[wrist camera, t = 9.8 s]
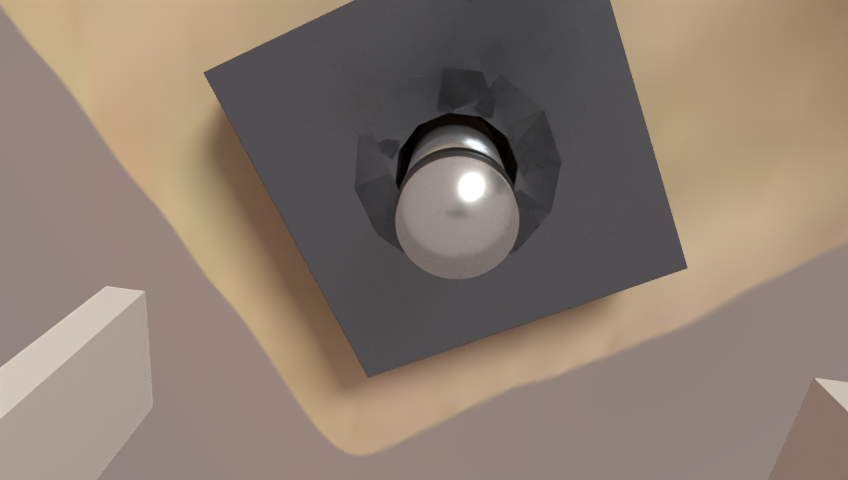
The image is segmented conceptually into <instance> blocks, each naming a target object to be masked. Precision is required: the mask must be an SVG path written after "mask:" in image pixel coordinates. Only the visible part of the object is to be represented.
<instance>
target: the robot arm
mask: <svg viewBox="0 0 848 480" xmlns="http://www.w3.org/2000/svg"><path fill="white" fill-rule="evenodd" d="M152 407H153V396H152V381H151V367H150V352H149V338H148V325H147V311H146V296H145V291H140V290H131V289H124V288H116V287H108V286H106V287H105V288H103V289H102V290H101V291H99V292H98V293H97V294H96V295H94V296H93V297H92V298H90V299H89V300H88V301H86V302H85V303H84V304H82V305H81V306H80V307H79V308H77V309H76V310H75V311H73V312H72V313H71V314H69V315H68V316H67V317H66V318H64V319H63V320H62V321H60V322H59V323H58V324H56V325H55V326H54V327H53V328H51V329H50V330H49V331H47V332H46V333H45V334H43V335H42V336H41V337H40V338H38V339H37V340H36V341H34V342H33V343H32V344H30V345H29V346H28V347H26V348H25V349H24V350H23V351H21V352H20V353H19V354H18V355H16V356H15V357H14V358H12V359H11V360H10V361H8V362H7V363H6V364H4V365H3V366H2V367H1V368H0V480H97V478H98V477H99V476H100V475H101V473H102V472H103V471H104V469H105V468H106V467H107V465H108V464H109V463H110V462H111V460H112V459H113V458H114V456H115V455H116V454H117V453H118V451H119V450H120V449H121V447H122V446H123V445H124V443H125V442H126V441H127V440H128V438H129V437H130V436H131V435H132V433H133V432H134V431H135V429H136V428H137V427H138V425H139V424H140V423H141V422H142V420H143V419H144V418H145V416H146V415H147V414H148V413H149V411H150V410H151V409H152ZM769 480H848V382H842V381H834V380H826V379H819V378H814V379H813V381H812V383H811V386H810V388H809V390H808V392H807V395H806V397H805V399H804V401H803V404H802V406H801V408H800V410H799V412H798V415H797V417H796V419H795V421H794V424H793V426H792V428H791V430H790V433H789V435H788V437H787V440H786V442H785V444H784V446H783V448H782V451H781V453H780V455H779V458H778V459H777V462H776V464H775V466H774V469H773V471H772V473H771V475H770V477H769Z"/></svg>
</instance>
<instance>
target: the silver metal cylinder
mask: <svg viewBox="0 0 848 480" xmlns="http://www.w3.org/2000/svg"><path fill="white" fill-rule="evenodd" d="M395 226H396V233H397V237H398V240H399V242H400V245H401V247H402V248H403V250H404V252H405V253H406V255H407V256H408V257H409V258H410V259H411V260H412V261H413V262H414V263H415V264H416V265H417V266H418V267H420V268H421V269H423V270H425V271H426V272H428V273H430V274H433V275H435V276H438V277H442V278H447V279H466V278H472V277H475V276H479V275H481V274H484V273H486V272H488V271H489V270H491V269H493V268H494V267H496V266H497V265H498V264H499V263H500V262H501V261H502V260H504V259H505V257H506V256H507V255H508V253H509V252H510V251H511V249H512V247H513V245H514V243H515V241H516V238H517V235H518V231H519V203H518V198H517V195H516V192H515V189H514V187H513V184H512V182H511V180H510V177H509V176H508V174H507V173H506V171H505V169H504V167H503V164H502V161H501V158H500V156H499V153H498V150H497V147H496V145H495V142H494V139H493V136H492V134H491V132H490V131H489V129H488V128H487V126H486V125H485V124H484V123H483V122H482V121H481V120H479V119H478V118H476V117H474V116H471V115H463V114H455V113H446V114H444V115H442V116H439V117H437V118H434V119H432V120H430V121H429V122H428V123H426V124H425V126H424V127H423V128H422V129H421V131H420V133H419V135H418V137H417V140H416V143H415V146H414V150H413V153H412V157H411V160H410V163H409V167H408V170H407V174H406V176H405V177H404V179H403V181H402V183H401V186H400V189H399V193H398V196H397V199H396V204H395Z"/></svg>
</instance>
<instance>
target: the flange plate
mask: <svg viewBox="0 0 848 480" xmlns="http://www.w3.org/2000/svg"><path fill="white" fill-rule="evenodd" d="M203 73H204V75H205V76H206V78H207V80H208V82H209V84H210V86H211V88H212V89H213V91H214V93H215V95H216V97H217V99H218V100H219V102H220V104H221V106H222V108H223V110H224V112H225V113H226V115H227V117H228V119H229V121H230V123H231V125H232V126H233V128H234V130H235V132H236V134H237V136H238V138H239V139H240V141H241V143H242V145H243V147H244V149H245V150H246V152H247V154H248V156H249V158H250V160H251V162H252V163H253V165H254V167H255V169H256V171H257V173H258V175H259V176H260V178H261V180H262V182H263V184H264V186H265V188H266V189H267V191H268V193H269V195H270V197H271V199H272V200H273V202H274V204H275V206H276V208H277V210H278V212H279V213H280V215H281V217H282V219H283V221H284V223H285V225H286V226H287V228H288V230H289V232H290V234H291V236H292V238H293V239H294V241H295V243H296V245H297V247H298V249H299V250H300V252H301V254H302V256H303V258H304V260H305V262H306V263H307V265H308V267H309V269H310V271H311V273H312V275H313V276H314V278H315V280H316V282H317V284H318V286H319V288H320V289H321V291H322V293H323V295H324V297H325V299H326V300H327V302H328V304H329V306H330V308H331V310H332V312H333V313H334V315H335V317H336V319H337V321H338V323H339V325H340V326H341V328H342V330H343V332H344V334H345V336H346V338H347V339H348V341H349V343H350V345H351V347H352V349H353V350H354V352H355V354H356V356H357V358H358V360H359V362H360V363H361V365H362V367H363V369H364V371H365V373H366V375H367V376H368V377H371V376H374V375H377V374H380V373H383V372H386V371H389V370H391V369H394V368H397V367H400V366H403V365H406V364H409V363H412V362H415V361H418V360H421V359H424V358H427V357H429V356H432V355H435V354H438V353H441V352H444V351H447V350H450V349H453V348H456V347H459V346H462V345H464V344H467V343H470V342H473V341H476V340H479V339H482V338H485V337H488V336H491V335H494V334H497V333H500V332H502V331H505V330H508V329H511V328H514V327H517V326H520V325H523V324H526V323H529V322H532V321H535V320H537V319H540V318H543V317H546V316H549V315H552V314H555V313H558V312H561V311H564V310H567V309H570V308H572V307H575V306H578V305H581V304H584V303H587V302H590V301H593V300H596V299H599V298H602V297H605V296H608V295H610V294H613V293H616V292H619V291H622V290H625V289H628V288H631V287H634V286H637V285H640V284H643V283H645V282H648V281H651V280H654V279H657V278H660V277H663V276H666V275H669V274H672V273H675V272H678V271H681V270H683V269H686V268H687V265H686V261H685V258H684V254H683V251H682V247H681V244H680V240H679V237H678V233H677V230H676V227H675V223H674V220H673V216H672V213H671V209H670V206H669V202H668V199H667V196H666V192H665V189H664V185H663V182H662V178H661V175H660V171H659V168H658V165H657V161H656V158H655V154H654V151H653V147H652V144H651V140H650V137H649V134H648V130H647V127H646V123H645V120H644V116H643V113H642V109H641V106H640V102H639V99H638V96H637V92H636V89H635V85H634V82H633V78H632V75H631V71H630V68H629V65H628V61H627V58H626V54H625V51H624V47H623V44H622V40H621V37H620V34H619V30H618V27H617V23H616V20H615V16H614V13H613V9H612V6H611V2H610V0H354V1H352V2H350V3H348V4H346V5H343V6H341V7H339V8H337V9H335V10H333V11H331V12H329V13H327V14H325V15H323V16H321V17H318V18H316V19H314V20H312V21H310V22H308V23H306V24H304V25H302V26H300V27H298V28H295V29H293V30H291V31H289V32H287V33H285V34H283V35H281V36H279V37H277V38H275V39H272V40H270V41H268V42H266V43H264V44H262V45H260V46H258V47H256V48H254V49H252V50H249V51H247V52H245V53H243V54H241V55H239V56H237V57H235V58H233V59H231V60H229V61H226V62H224V63H222V64H220V65H218V66H216V67H214V68H212V69H210V70H208V71H206V72H203ZM446 113H455V114H463V115H471V116H479V117H482V118H484V119H485V120H486V121H487V122H489V123H490V124H491V125H492V126H494V127H495V128H496V129H498V130H499V131H500V132H501V133H503V134H504V135H505V138H506V140H507V143H508V151H507V156H506V162H505V168H504V169H505V171H506V173H507V174H508V176H509V177H510V180H511V182H512V184H513V187H514V189H515V192H516V195H517V198H518V203H519V231H518V235H517V238H516V241H515V243H514V245H513V247H512V249H511V251H510V252H509V253H508V255H507V256H506V257H505V259H504V260H502V261H501V262H500V263H499V264H498V265H497V266H496V267H494V268H493V269H491V270H489V271H488V272H486V273H484V274H481V275H479V276H475V277H472V278H466V279H447V278H442V277H438V276H435V275H433V274H430V273H428V272H426V271H425V270H423V269H421V268H420V267H418V266H417V265H416V264H415V263H414V262H413V261H412V260H411V259H410V258H409V257H408V256H407V255H406V253H405V252H404V250H403V248H402V247H401V245H400V242H399V240H398V237H397V233H396V226H395V204H396V199H397V196H398V193H399V189H400V186H401V183H402V181H403V179H404V177H405V176H406V174H407V170H408V168H407V166H406V164H405V162H404V159H403V158H404V149H405V142H406V141H407V140H408V138H409V137H410V136H411V134H412V133H413V131H414V130H415V129H416V127H417V126H418V125H420V124H423V123H425V122H427V121H430V120H432V119H434V118H437V117H439V116H442V115H444V114H446Z"/></svg>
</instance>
